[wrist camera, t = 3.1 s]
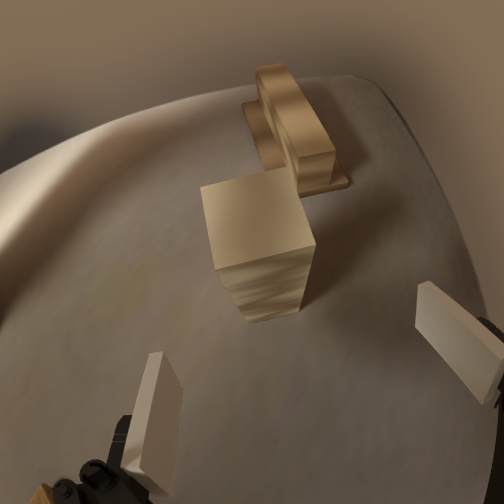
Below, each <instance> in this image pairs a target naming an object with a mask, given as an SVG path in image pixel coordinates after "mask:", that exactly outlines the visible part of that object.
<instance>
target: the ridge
mask: <svg viewBox="0 0 504 504" xmlns="http://www.w3.org/2000/svg"><path fill="white" fill-rule="evenodd" d="M255 71H256V80H257V90H258V101H253V102H248V103H243V104H242V107H243V111H244V114H245V117H246V119H247V122H248V125H249V128H250V131H251V134H252V136H253V139H254V142H255V145H256V148H257V151H258V154H259V157H260V160H261V162H262V165H263V168H264V171H269V170H274V169H279V168H283V167H287V168H288V170H289V173H290V175H291V178H292V180H293V183H294V185H295V188H296V191H297V193H298V196H299V198H302V197H307V196H311V195H316V194H320V193H325V192H330V191H334V190H339V189H344V188H347V187H348V183H349V182H348V180H347V178H346V176H345V174H344V172H343V170H342V168H341V166H340V164H339V162H338V160H337V158H336V156H335V154H336V149H335V147H334V145H333V143H332V142H331V140H330V138H329V136H328V134H327V133H326V131H325V129H324V127H323V126H322V124H321V122H320V120H319V119H318V117H317V115H316V114H315V112H314V110H313V109H312V107H311V105H310V104H309V102H308V101H307V99H306V97H305V96H304V94H303V93H302V91H301V89H300V88H299V86H298V85H297V83H296V82H295V80H294V79H293V77H292V76H291V74H290V73H289V71H288V70H287V68H286V67H285V66H284V64H283V63H277V64H271V65H264V66H259V67H255Z"/></svg>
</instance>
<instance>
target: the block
mask: <svg viewBox="0 0 504 504" xmlns="http://www.w3.org/2000/svg"><path fill="white" fill-rule="evenodd" d="M200 189H201V195H202V201H203V206H204V212H205V218H206V223H207V229H208V235H209V240H210V245H211V251H212V256H213V261H214V266H215V270H216V272H217V274H218V275H219V277H220V279H221V280H222V282H223V284H224V285H225V287H226V289H227V290H228V292H229V294H230V295H231V297H232V298H233V300H234V302H235V303H236V305H237V307H238V308H239V310H240V311H241V313H242V315H243V316H244V318H245V320H246V321H247V323H248V324H253V323H257V322H261V321H265V320H269V319H273V318H277V317H281V316H285V315H289V314H293V313H296V312H299V309H300V305H301V302H302V298H303V294H304V290H305V287H306V283H307V279H308V275H309V271H310V267H311V263H312V259H313V255H314V251H315V247H316V243H315V240H314V237H313V234H312V231H311V228H310V226H309V223H308V220H307V217H306V215H305V212H304V209H303V207H302V204H301V201H300V199H299V196H298V193H297V191H296V188H295V185H294V183H293V180H292V178H291V175H290V173H289V170H288V168H287V167H283V168H279V169H274V170H269V171H265V172H261V173H256V174H252V175H248V176H244V177H239V178H235V179H231V180H227V181H223V182H219V183H216V184H212V185H208V186H204V187H201V188H200Z"/></svg>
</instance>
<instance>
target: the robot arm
mask: <svg viewBox="0 0 504 504" xmlns="http://www.w3.org/2000/svg"><path fill="white" fill-rule="evenodd" d="M415 327H416V329H417V330H418V331H419V332H420V333H421V334H422V335H423V336H424V337H425V338H426V340H427V341H428V342H429V343H430V344H431V345H432V346H433V347H434V349H435V350H436V351H437V352H438V353H439V354H440V355H441V357H442V358H443V359H444V360H445V361H446V362H447V364H448V365H449V366H450V367H451V368H452V369H453V371H454V372H455V373H456V374H457V375H458V377H459V378H460V379H461V380H462V381H463V383H464V384H465V385H466V386H467V387H468V389H469V390H470V391H471V392H472V394H473V395H474V396H475V397H476V399H477V400H478V401H479V402H480V404H481V405H483V404H484V403H486V402H487V401H489V400H490V399H491V398H493V397H494V395H495V393H496V391H497V388H498V389H499V390H500V391H501V393H500V395H499V397H498V399H497V401H496V403H495V406H494V408H496V407H497V405H498V403H499V412H498V425H497V435H496V443H495V451H494V457H493V463H492V469H491V474H490V479H489V483H488V488H487V492H486V496H485V500H484V504H504V333H502V332H501V330H499V329H498V328H496V326H495V325H494V324H492V323H491V322H490V321H489V320H486V319H484V318H482V317H479V318H477V319H476V318H474V317H473V316H472V315H471V314H470V313H469V312H467V311H466V310H465V309H464V308H463V307H461V306H460V305H459V304H458V303H457V302H455V301H454V300H453V299H452V298H451V297H449V296H448V295H447V294H446V293H444V292H443V291H442V290H441V289H439V288H438V287H437V286H436V285H434V284H433V283H432V282H430V281H427V282H424V283H421V284H418V294H417V309H416V321H415ZM182 395H183V388H182V386H181V384H180V382H179V380H178V378H177V377H176V375H175V373H174V371H173V369H172V367H171V365H170V363H169V361H168V359H167V357H166V355H165V353H164V351H162V352H156V353H150V354H149V357H148V361H147V364H146V367H145V371H144V374H143V378H142V381H141V385H140V389H139V392H138V396H137V400H136V403H135V407H134V411H133V415H124V416H123V417H122V418H121V419H120V421H119V422H118V424H117V426H116V430H115V433H114V434H115V435H114V437H113V440H112V441H113V443H112V444H111V448H110V452H109V456H108V460H107V463H104V462H103V461H101V460H91V461H88V462H87V463H85V464H84V465H83V466H82V468H81V470H80V474H79V477H80V481H81V482H83V484H75V483H74V482H73V481H72V480H69V479H62V480H60V481H58V482H57V484H56V485H55V486H54V489H53V499H54V504H153V503H152V502H151V501H150V500H149V499H148V498H149V492H150V493H151V494H152V495H153V496H155V497H163V498H173V489H174V475H175V463H176V452H177V441H178V431H179V421H180V412H181V403H182Z"/></svg>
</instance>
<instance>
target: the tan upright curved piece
mask: <svg viewBox="0 0 504 504" xmlns="http://www.w3.org/2000/svg"><path fill="white" fill-rule="evenodd" d="M29 504H54V499H53V489H52V488H51V487H49V486H48V485H47V484H41V485H40V486H39V487H38V489H37V490H36V492H35V493H34V494H33V496H32V498H31V500H30V503H29Z"/></svg>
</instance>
